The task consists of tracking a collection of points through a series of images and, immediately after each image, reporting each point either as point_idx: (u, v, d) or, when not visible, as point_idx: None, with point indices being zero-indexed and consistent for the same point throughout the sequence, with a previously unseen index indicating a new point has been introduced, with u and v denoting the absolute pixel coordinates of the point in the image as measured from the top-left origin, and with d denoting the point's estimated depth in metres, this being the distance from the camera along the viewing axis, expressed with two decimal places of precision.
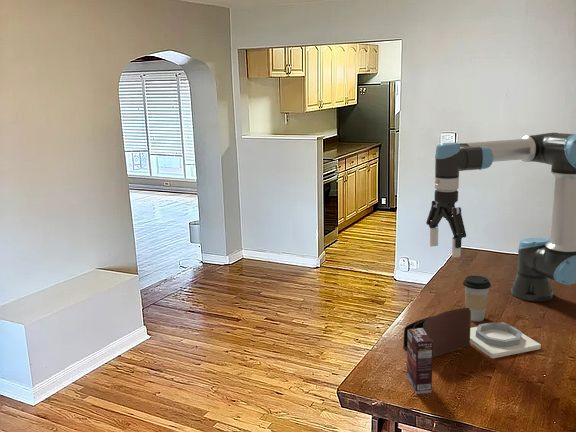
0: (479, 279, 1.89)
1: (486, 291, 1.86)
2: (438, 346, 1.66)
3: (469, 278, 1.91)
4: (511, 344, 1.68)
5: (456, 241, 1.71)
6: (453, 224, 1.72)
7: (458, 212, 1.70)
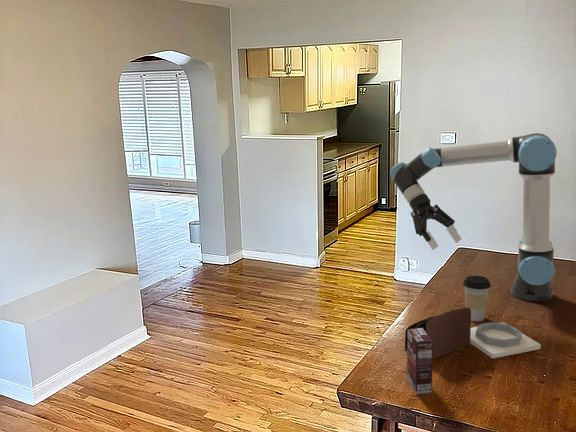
0: (479, 279, 1.89)
1: (486, 291, 1.86)
2: (440, 346, 1.65)
3: (469, 278, 1.91)
4: (511, 344, 1.68)
5: None
6: (421, 224, 1.97)
7: (413, 213, 1.97)
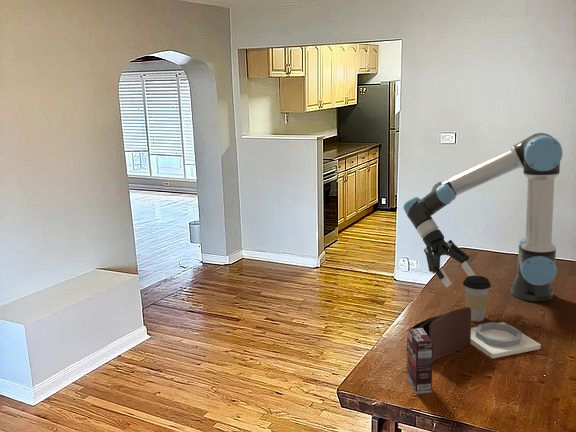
0: (479, 280, 1.89)
1: (486, 291, 1.86)
2: (443, 347, 1.65)
3: (469, 278, 1.91)
4: (511, 344, 1.68)
5: None
6: (434, 260, 1.96)
7: (427, 250, 1.96)
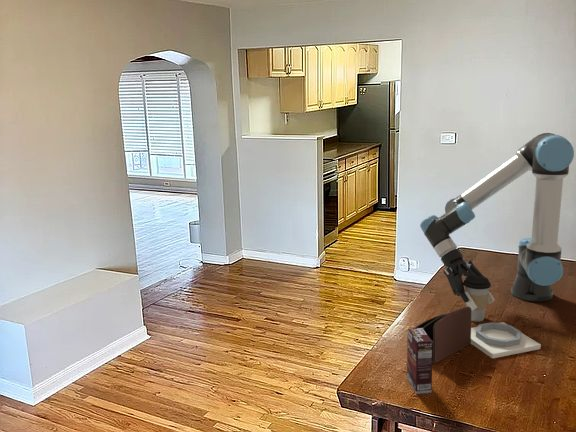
0: (479, 279, 1.89)
1: (486, 291, 1.86)
2: (445, 347, 1.65)
3: (469, 278, 1.90)
4: (511, 344, 1.68)
5: None
6: (456, 282, 1.91)
7: (447, 272, 1.91)
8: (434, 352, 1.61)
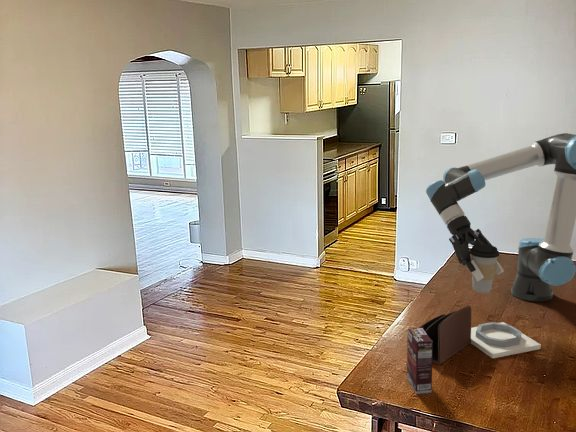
0: (486, 248, 1.76)
1: (494, 260, 1.74)
2: (449, 348, 1.64)
3: (476, 246, 1.78)
4: (511, 344, 1.68)
5: None
6: (462, 251, 1.79)
7: (453, 240, 1.79)
8: (439, 353, 1.60)
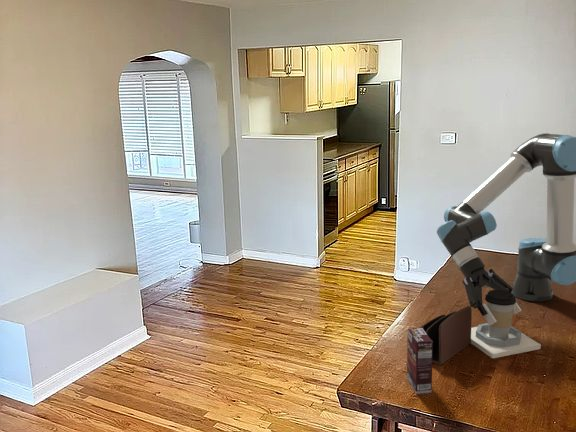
0: (503, 294, 1.71)
1: (511, 307, 1.68)
2: (450, 348, 1.64)
3: (492, 293, 1.72)
4: (511, 344, 1.68)
5: None
6: (475, 293, 1.72)
7: (466, 282, 1.73)
8: (440, 353, 1.60)
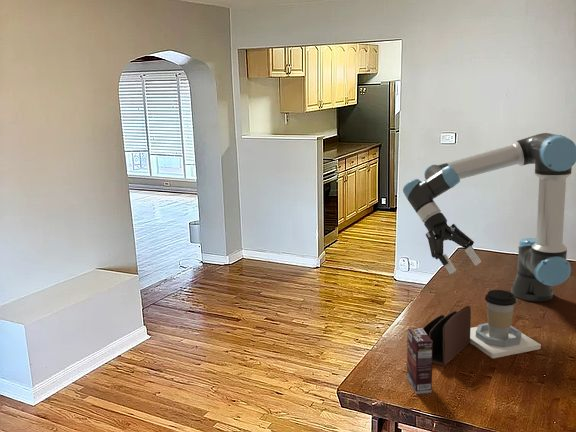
0: (503, 295, 1.71)
1: (511, 308, 1.68)
2: (452, 348, 1.64)
3: (492, 293, 1.72)
4: (511, 344, 1.68)
5: None
6: (437, 245, 1.83)
7: (429, 235, 1.83)
8: (444, 354, 1.59)
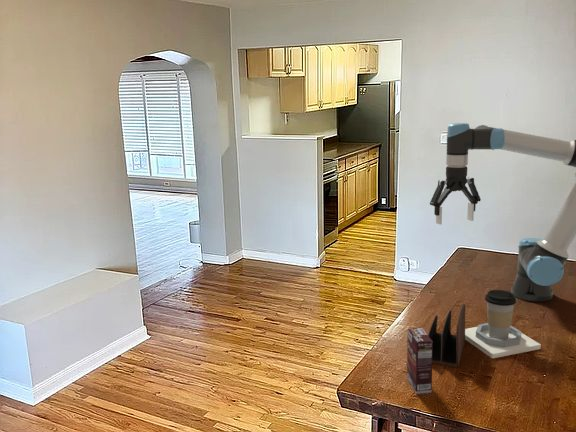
0: (503, 295, 1.71)
1: (511, 308, 1.68)
2: (460, 348, 1.64)
3: (492, 293, 1.72)
4: (511, 344, 1.68)
5: None
6: (441, 195, 1.96)
7: (440, 184, 1.93)
8: (457, 355, 1.59)
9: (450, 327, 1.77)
